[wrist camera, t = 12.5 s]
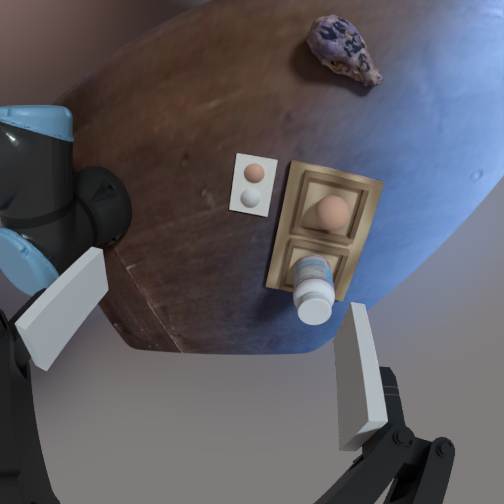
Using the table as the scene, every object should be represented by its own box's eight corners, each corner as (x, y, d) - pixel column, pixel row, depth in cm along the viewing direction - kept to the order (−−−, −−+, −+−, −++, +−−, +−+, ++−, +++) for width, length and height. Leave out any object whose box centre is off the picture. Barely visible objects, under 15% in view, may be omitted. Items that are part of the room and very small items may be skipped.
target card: (229, 208, 47) (229, 209, 46) (237, 153, 42) (236, 153, 42) (267, 215, 46) (267, 217, 46) (277, 160, 42) (277, 161, 41)
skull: (389, 75, 33) (404, 72, 28) (350, 102, 36) (359, 103, 31) (336, 12, 29) (342, -1, 24) (295, 39, 33) (295, 29, 27)
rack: (266, 282, 52) (265, 290, 50) (291, 159, 41) (291, 162, 39) (341, 297, 52) (343, 304, 50) (381, 181, 41) (385, 185, 39)
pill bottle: (327, 284, 49) (332, 330, 40) (292, 281, 50) (289, 327, 40) (333, 254, 46) (341, 296, 37) (296, 250, 47) (294, 292, 37)
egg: (310, 218, 44) (312, 232, 40) (318, 187, 42) (320, 198, 37) (342, 225, 44) (346, 240, 40) (350, 195, 41) (356, 206, 37)
